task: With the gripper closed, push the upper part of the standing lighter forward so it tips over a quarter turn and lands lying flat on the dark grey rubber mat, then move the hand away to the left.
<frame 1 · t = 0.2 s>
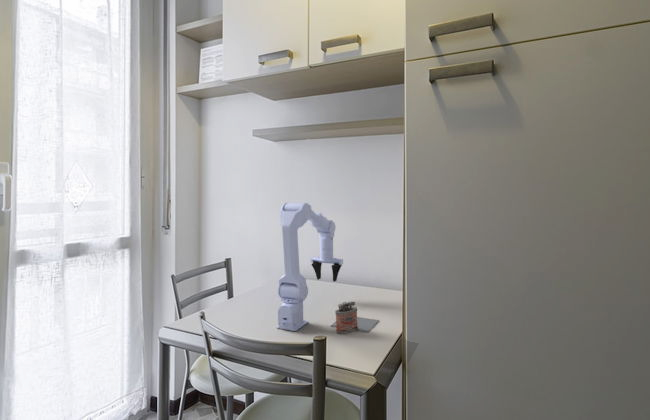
hand: (326, 279, 157), 10 cm above the table, tool pointing down, fingers open, 7 cm apart
mat: (355, 323, 134), on the table
lighter: (347, 331, 127), on the table, touching mat
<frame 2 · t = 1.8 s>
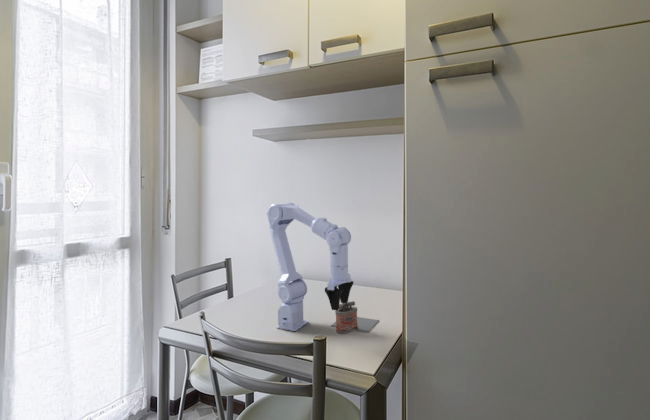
hand: (339, 306, 121), 10 cm above the table, tool pointing down, fingers open, 7 cm apart
nothing on the table moved.
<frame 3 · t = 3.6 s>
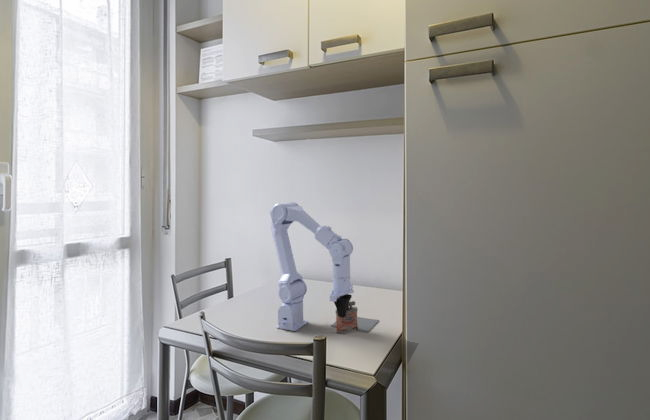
hand: (342, 316, 122), 6 cm above the table, tool pointing down, fingers closed
lighter: (347, 331, 127), on the table, touching gripper, mat
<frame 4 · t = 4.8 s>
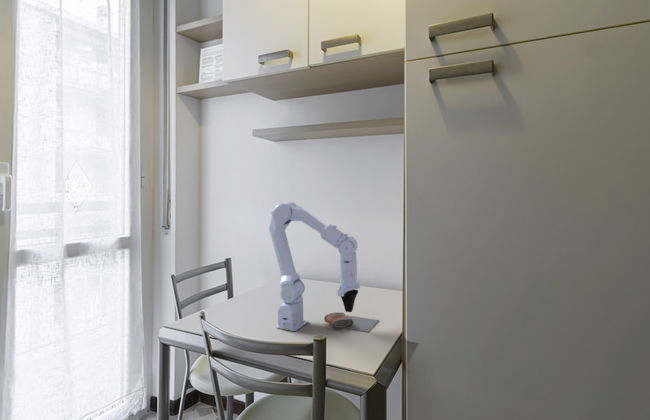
hand: (348, 311, 128), 6 cm above the table, tool pointing down, fingers closed
lighter: (343, 324, 128), point 2 cm above the table, touching mat
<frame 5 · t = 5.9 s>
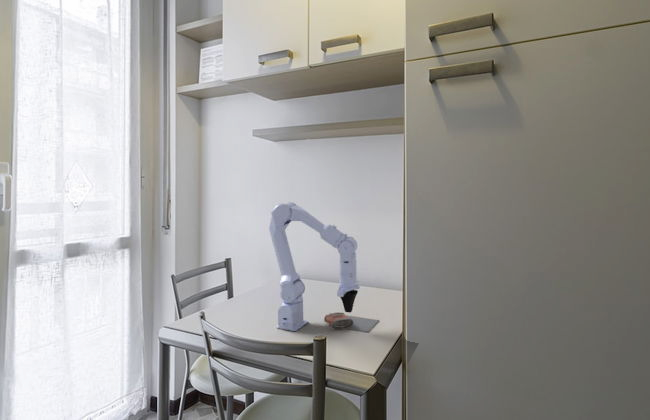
hand: (348, 311, 128), 6 cm above the table, tool pointing down, fingers closed
nothing on the table moved.
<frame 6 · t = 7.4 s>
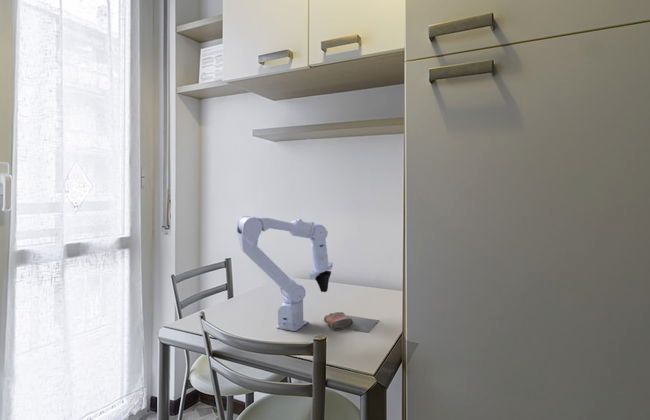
hand: (324, 291, 138), 11 cm above the table, tool pointing down, fingers closed
nothing on the table moved.
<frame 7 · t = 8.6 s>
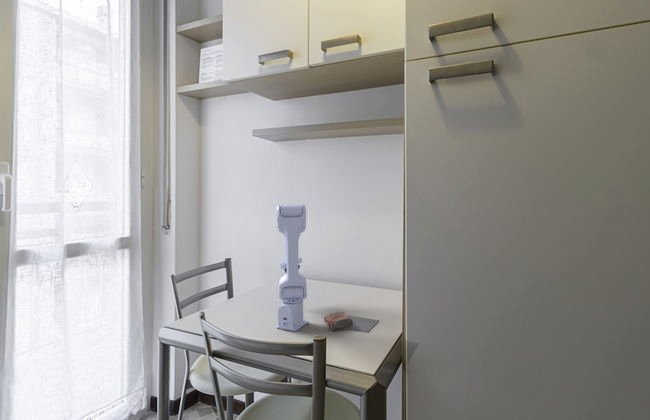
hand: (292, 282, 151), 10 cm above the table, tool pointing down, fingers closed
nothing on the table moved.
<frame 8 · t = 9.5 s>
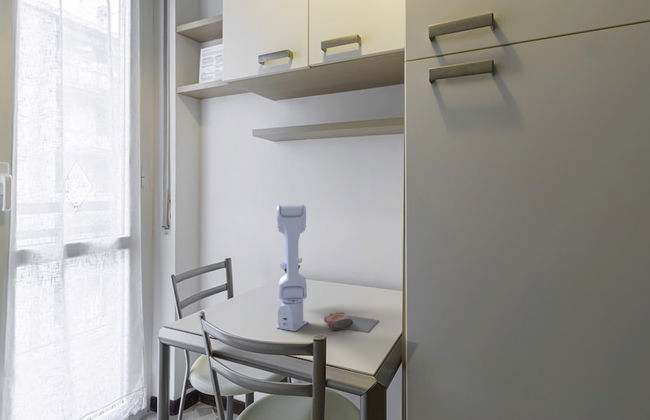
hand: (292, 282, 151), 10 cm above the table, tool pointing down, fingers closed
nothing on the table moved.
at the end: lighter tilted 90°; lighter inside the target area (7.6 cm from its centre), point 2.0 cm above the table; the gripper is holding nothing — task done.
